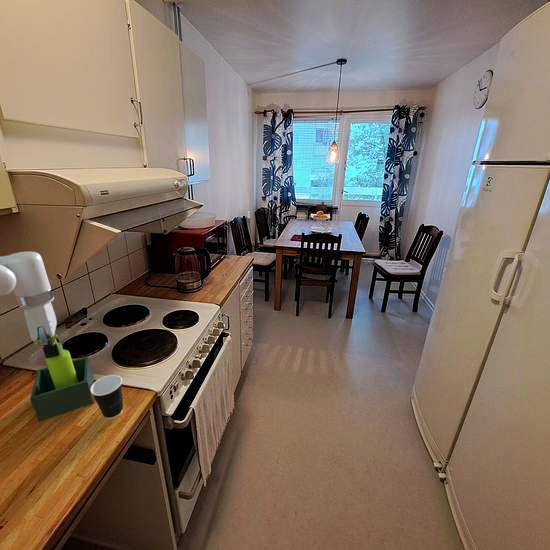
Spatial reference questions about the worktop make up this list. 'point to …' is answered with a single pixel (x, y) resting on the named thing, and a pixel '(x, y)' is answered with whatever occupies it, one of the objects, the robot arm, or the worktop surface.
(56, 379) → the soap dispenser
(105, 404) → the dixie cup
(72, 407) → the bin
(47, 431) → the worktop surface
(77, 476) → the worktop surface
